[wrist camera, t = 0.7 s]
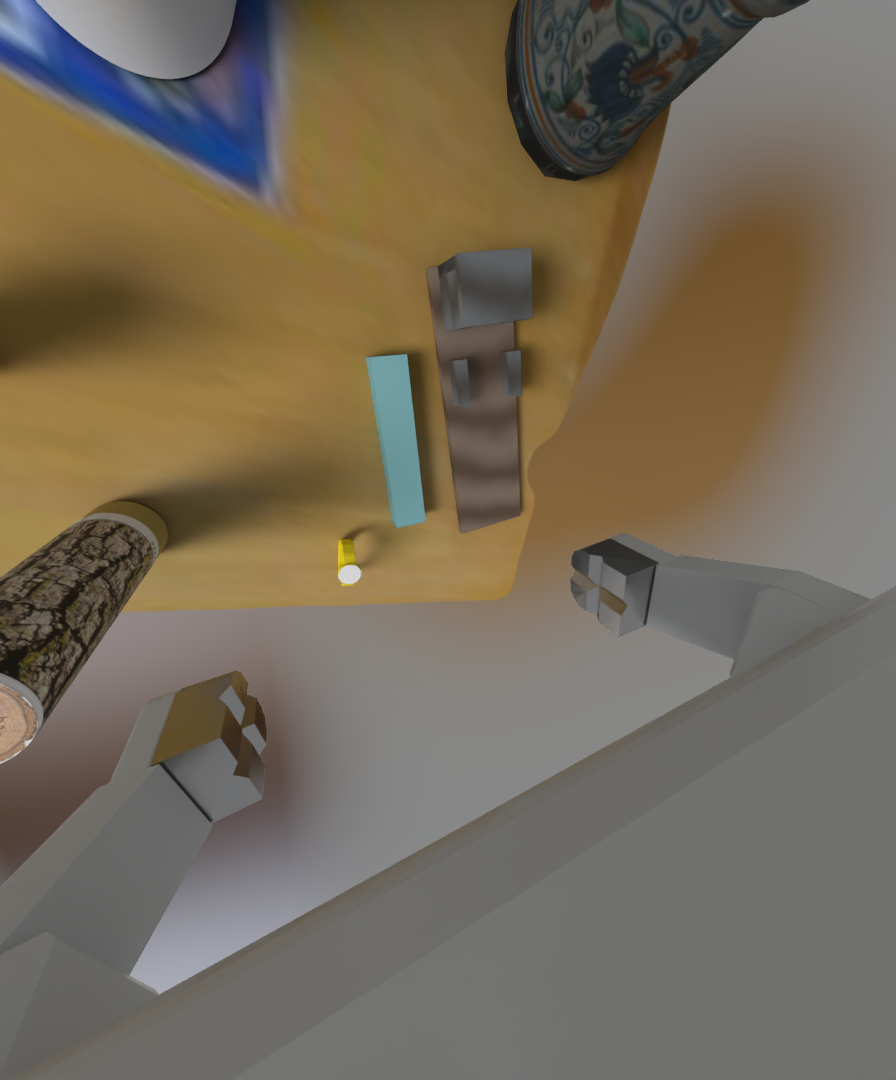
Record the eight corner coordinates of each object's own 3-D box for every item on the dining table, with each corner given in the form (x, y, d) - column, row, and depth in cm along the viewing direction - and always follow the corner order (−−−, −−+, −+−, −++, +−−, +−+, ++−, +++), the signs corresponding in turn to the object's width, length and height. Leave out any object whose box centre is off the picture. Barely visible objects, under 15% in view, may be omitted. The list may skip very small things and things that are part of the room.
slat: (365, 357, 40) (370, 357, 38) (399, 355, 41) (406, 354, 39) (391, 519, 49) (396, 528, 47) (418, 513, 50) (425, 521, 48)
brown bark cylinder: (172, 505, 38) (35, 669, 18) (168, 561, 41) (41, 767, 20) (87, 492, 35) (-201, 674, 14) (87, 554, 37) (-165, 790, 17)
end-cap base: (425, 269, 38) (448, 253, 33) (506, 262, 41) (540, 246, 36) (459, 530, 54) (478, 549, 48) (517, 513, 56) (541, 528, 51)
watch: (353, 569, 50) (360, 594, 45) (332, 571, 49) (337, 597, 44) (354, 531, 47) (362, 553, 43) (333, 532, 46) (338, 555, 42)
